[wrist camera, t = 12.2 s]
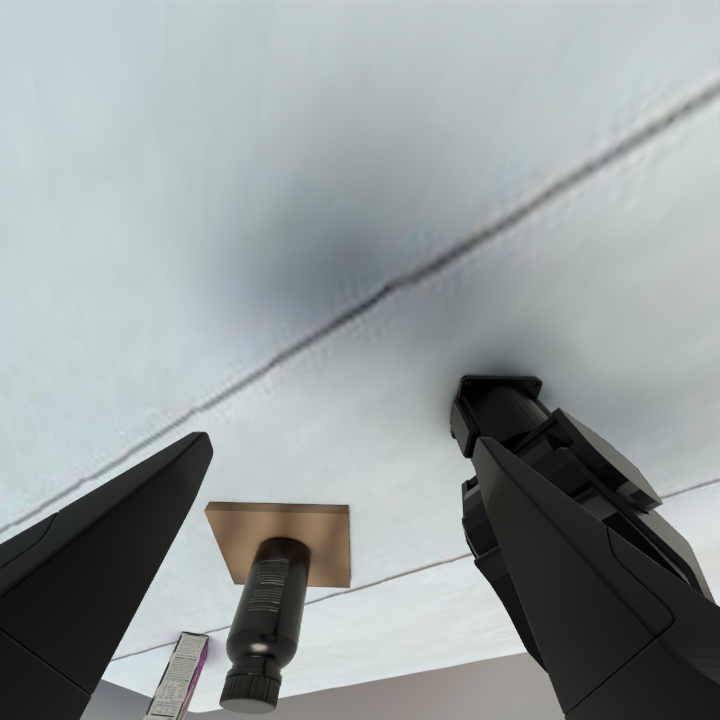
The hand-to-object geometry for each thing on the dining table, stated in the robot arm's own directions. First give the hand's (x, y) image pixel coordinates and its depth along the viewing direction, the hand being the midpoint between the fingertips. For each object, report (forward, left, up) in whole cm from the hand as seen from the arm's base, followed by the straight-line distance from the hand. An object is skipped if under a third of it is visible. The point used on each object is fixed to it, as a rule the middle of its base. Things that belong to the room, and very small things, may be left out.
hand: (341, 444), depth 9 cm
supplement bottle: (+9, +30, -12) cm, 33 cm away
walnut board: (+9, +30, -13) cm, 34 cm away
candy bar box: (+30, +63, -13) cm, 71 cm away
